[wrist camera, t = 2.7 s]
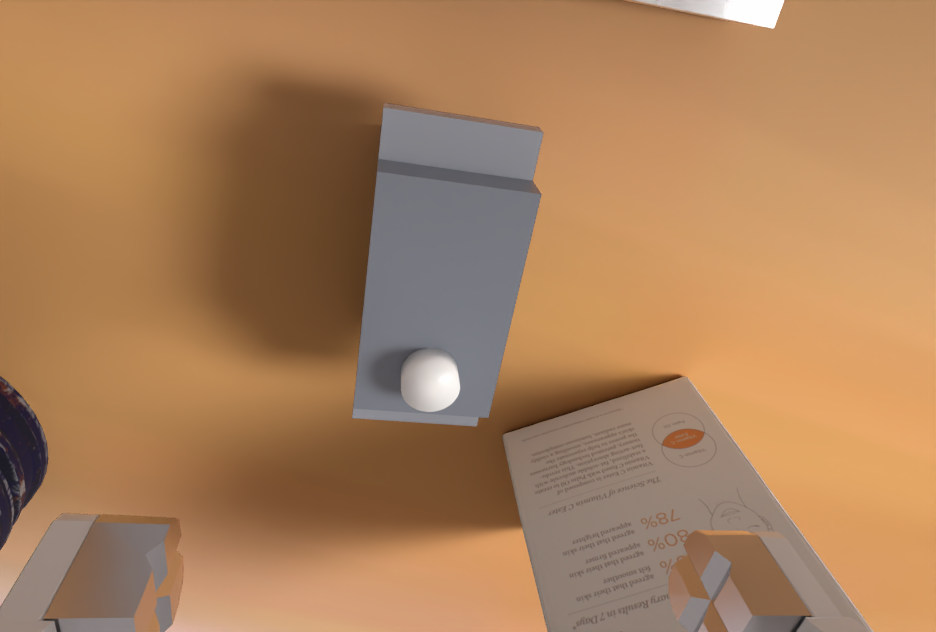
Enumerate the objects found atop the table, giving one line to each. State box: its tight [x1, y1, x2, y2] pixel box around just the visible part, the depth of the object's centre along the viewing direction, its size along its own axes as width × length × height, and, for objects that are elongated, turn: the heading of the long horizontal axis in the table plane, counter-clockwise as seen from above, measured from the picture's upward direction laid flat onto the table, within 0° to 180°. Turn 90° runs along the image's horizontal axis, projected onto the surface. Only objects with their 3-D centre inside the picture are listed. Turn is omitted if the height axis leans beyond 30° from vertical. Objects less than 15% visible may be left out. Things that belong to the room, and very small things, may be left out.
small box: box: [502, 377, 873, 632], centre depth 21 cm, size 8×6×13 cm
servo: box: [352, 103, 544, 426], centre depth 18 cm, size 4×10×6 cm, turn 170°
